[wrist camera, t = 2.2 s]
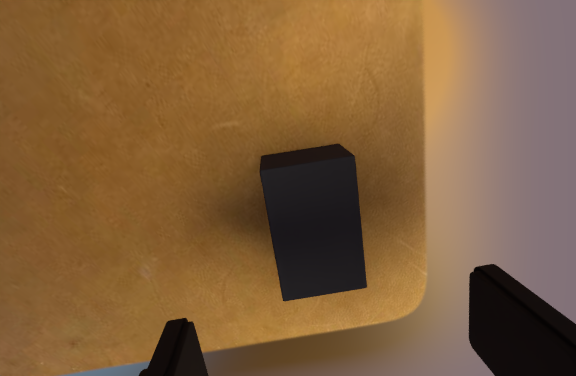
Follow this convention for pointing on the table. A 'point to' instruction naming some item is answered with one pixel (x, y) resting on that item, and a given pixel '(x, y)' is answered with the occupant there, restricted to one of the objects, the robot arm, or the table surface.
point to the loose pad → (314, 220)
